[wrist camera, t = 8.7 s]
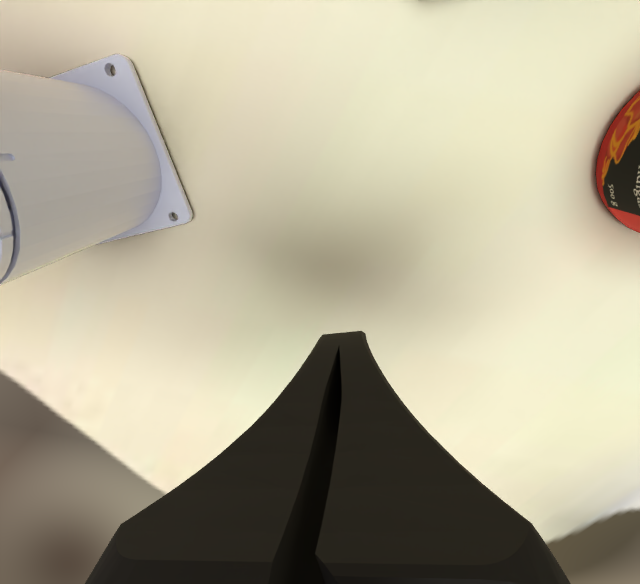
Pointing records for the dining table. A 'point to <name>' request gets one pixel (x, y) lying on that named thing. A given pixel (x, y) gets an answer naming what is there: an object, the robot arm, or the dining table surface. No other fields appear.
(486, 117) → the dining table surface
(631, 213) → the canned food
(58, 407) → the dining table surface
